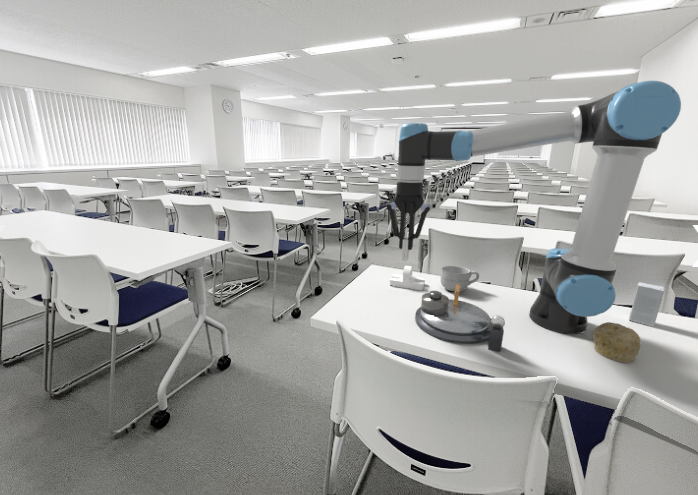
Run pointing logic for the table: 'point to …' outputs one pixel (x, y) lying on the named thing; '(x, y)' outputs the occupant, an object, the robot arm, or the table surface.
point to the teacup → (456, 277)
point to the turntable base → (450, 337)
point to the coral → (616, 342)
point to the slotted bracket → (407, 280)
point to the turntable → (459, 318)
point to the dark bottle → (496, 333)
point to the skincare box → (646, 304)
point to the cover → (434, 303)
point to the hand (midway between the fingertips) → (405, 259)
